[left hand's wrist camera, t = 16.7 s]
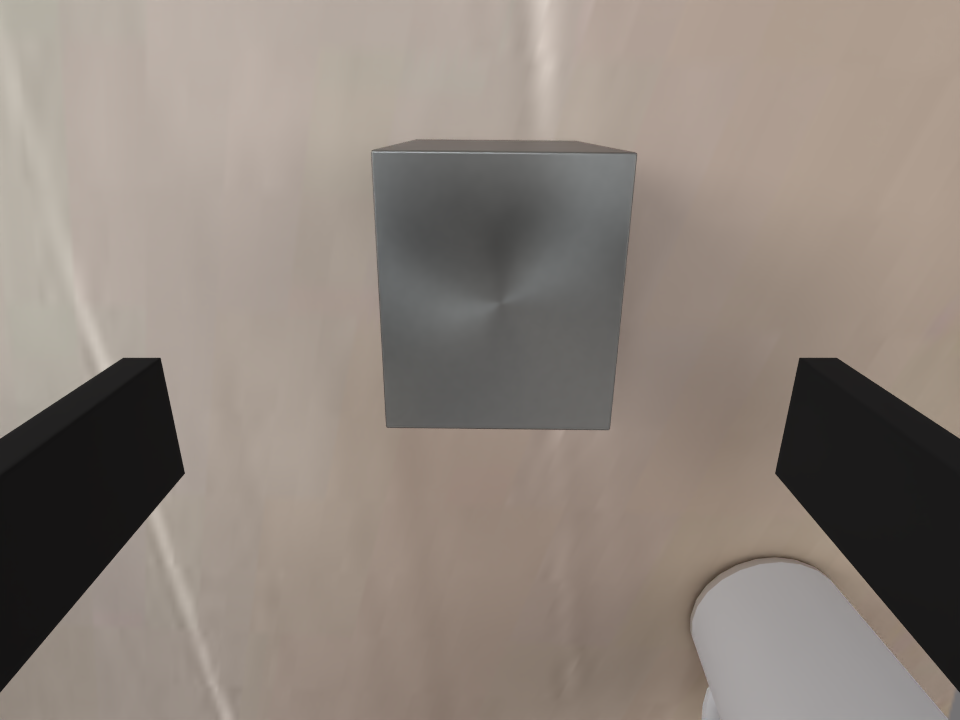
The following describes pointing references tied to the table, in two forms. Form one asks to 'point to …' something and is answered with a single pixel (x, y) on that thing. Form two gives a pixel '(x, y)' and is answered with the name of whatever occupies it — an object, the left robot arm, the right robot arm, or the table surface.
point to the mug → (796, 651)
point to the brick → (501, 281)
